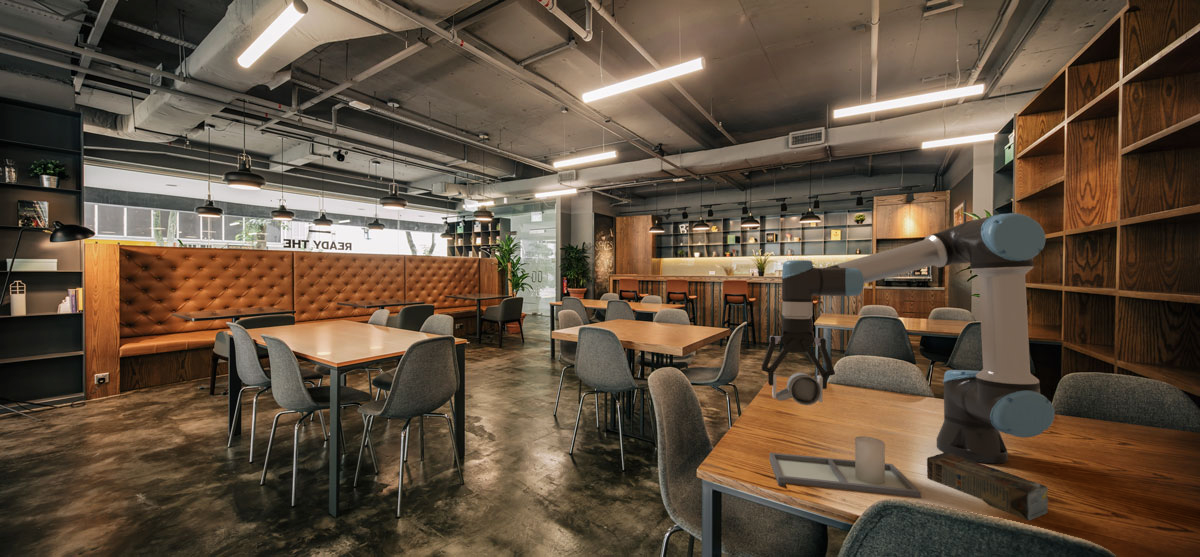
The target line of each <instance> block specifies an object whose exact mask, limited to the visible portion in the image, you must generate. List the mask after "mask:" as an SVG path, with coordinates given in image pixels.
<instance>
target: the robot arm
mask: <svg viewBox="0 0 1200 557" xmlns="http://www.w3.org/2000/svg"><path fill="white" fill-rule="evenodd" d="M1046 241H1047V240H1046V233H1045V231H1044V228H1043V227H1042V225H1041V224H1040V223H1039V222H1038V221H1036V220H1035V219H1033V218H1032V217H1031V216H1028V215H1026V214H1022V213H1015V212H1009V213H1000V214H994V215H993V214H992V216H991V215H990V216H987V217H982V218H978V219H972V220H968V221H966V222H962V223H960V224H959V223H958V224H957V225H954V226H952V227H950V228H947V229H944V230H941V231H939V232H935V233H932V234H928V235H926V236H925V237H924V239H923V240H919V241H916V242H912V243H910V244H906V245H902V246H897V247H895V248H890V249H887V250H883V251H880V252H877V253H873V254H870V255H867V256H862V257H859V258H855V259H852V260H847V261H844V262H839V263H837V264H833V265H830V266H827V267H826V266H825V267H814V264H813V261H812V260H806V259H805V260H804V259H803V260H801V259H799V260H797V259H796V260H795V259H794V260H793V259H792V260H787V261H784V262H783V264H782V272H781V289H782V291H781V292H782V295H781V296H782V299H781V302H782V305H781V308H782V309H781V316H784V317H782V318H781V335H779V336H777V335H776V336H775V335H769V345H768V347H767V350H766V353H765V354H764V358H763V361H762V364H761V366H760V367H761V370H762V371H763V372H766V373H767V382H768V385H769V386H772V387H771V388H772V389H771V390H772V391H771V392H772V393H771V394H772V395H771V396H772V398H773V399H774V400H775V399H777V398H776V393H777V373H776V372H775V371H776V370H777V369H778V367H779V366H780V364H781V363H782V362H783V360H784V359H785V357H786V356H787V355H788V353H789V352H791V353H797V352H798V353H806V355H807V356H808V358H809V359H810V360H811V362H812V363H813V365H814V366H815V367H816V369H817V371H818V373H819V374H820V375H817V377H816V378H817V379H816V380H817V381H818V382H819V384H820V386H821V396H820V399H819V400H818V401H817V402H819V403H823V401H824V398H823V396H824V394H823V392H824V391H823V390H827V388H828V377H830V376H834V375H835V374H836V371H835V369H834V367H833V363H832V360H831V358H830V355H829V352H828V349H827V339H826V338H824V337H814V334H813V319H812V317H813V315H814V312H813V301H814V300H813V296H817V297H818V296H824V297H825V296H829V297H852V296H853V297H856V296H860V295H861V293H862V292H863V289H864V286H865V284H868V283H871V282H874V281H879V280H884V279H887V278H890V277H895V276H899V275H903V274H906V273H909V272H913V271H918V270H921V269H925V268H929V267H933V266H934V267H937V268H942V267H946V266H952V265H957V264H958V265H962V264H969V266H970V271H971V272H972V273H974V274H975V275H977V277H978V291H979V309H980V310H979V312H980V334H981V352H982V353H981V355H982V369H981V370H966V369H948V370H946V371H945V372H944V375H943V382H942V384H943V422H942V426H940V429H939V432H938V433H937V434H938V435H937V437H936V448H937V449H938V450H939V451H941V452H942V453H945V452H947V453H950V454H954V455H956V456H959V457H963V458H965V459H968V460H971V461H974V462H977V463H981V464H982V463H984V464H1004V463H1008V462H1009V453H1008V452H1009V451H1008V450H1007V447H1006V444H1005V442H1004V439H1003V437H1002V435H1001V433H1003V434H1006V435H1010V436H1014V437H1016V438H1017V437H1018V438H1024V439H1025V438H1032V437H1036V436H1039V435H1041V434H1042V433H1043V432H1045V431H1047V430H1048V429H1049V428H1051V425H1052V424H1053V423H1054V420H1055V415H1056V414H1055V413H1056V412H1055V408H1054V405H1053V403H1052V402H1051V401H1050V400H1049V399H1048V398H1047V397H1046V396H1045V395H1043V394H1041V387H1040V379H1038V377H1036V376H1034V375H1033V374H1032V373H1031V364H1030V363H1031V362H1030V359H1031V358H1030V342H1029V340H1030V339H1029V325H1028V324H1029V321H1028V319H1029V318H1028V305H1027V304H1028V303H1027V285H1026V282H1027V281H1026V275H1027V274H1028V273H1029V272H1031V270H1033V269H1034V267H1035V264H1034V258H1035V257H1036V256H1038V255H1039V254H1040V252H1041V251H1042V250H1043V249H1044V247H1045V245H1046ZM779 341H780V342H781V343H782V344H783V347H782V348H781V350H780V352H778V355H777V356H776V357H775V359H774V360H773V361H772V363H771V364H770V361H771V358H772V356H773V353H774V350H775V349H776V348H775V347H776V345H778V343H779ZM814 343H815V344H816V345H817V346H818V348H819V350H820V353H821V356H822V359H823V362H824V364H825V368H826V370H825V369H824V367H823V366H822V364H821V363H820V361H819V360H818V358H817V357H816V355H815V353H814V352H813V351H812V349H811V346H813V345H814ZM769 364H770V366H769ZM768 366H769V367H768Z"/></svg>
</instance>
